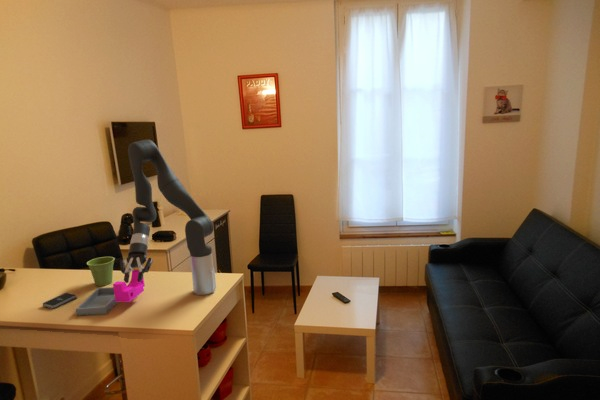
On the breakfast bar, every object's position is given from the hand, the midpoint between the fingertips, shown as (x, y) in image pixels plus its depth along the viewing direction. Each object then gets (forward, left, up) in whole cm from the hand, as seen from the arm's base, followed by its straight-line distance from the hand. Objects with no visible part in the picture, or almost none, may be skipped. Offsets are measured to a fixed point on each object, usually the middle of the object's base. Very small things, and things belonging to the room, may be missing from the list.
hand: (132, 281), depth 167 cm
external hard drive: (+31, 0, -8) cm, 32 cm away
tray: (+12, +3, -8) cm, 15 cm away
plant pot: (+21, -19, -8) cm, 30 cm away
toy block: (-1, +2, -5) cm, 5 cm away
